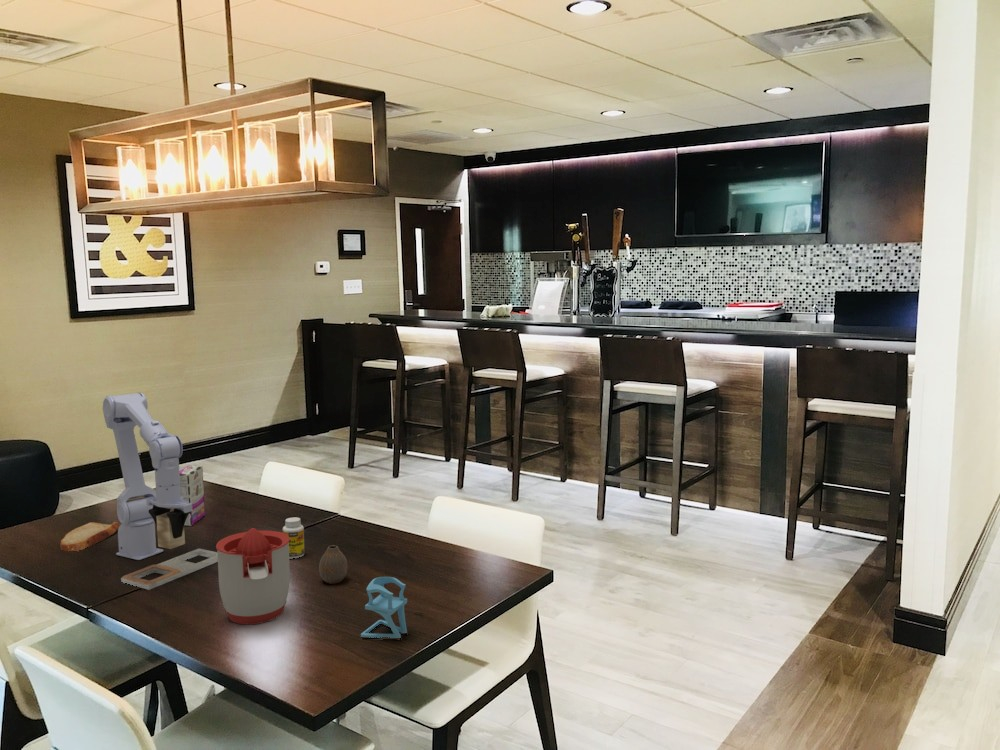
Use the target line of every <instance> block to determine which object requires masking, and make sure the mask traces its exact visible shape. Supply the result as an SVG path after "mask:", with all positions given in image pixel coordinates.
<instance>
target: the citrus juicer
mask: <svg viewBox="0 0 1000 750" xmlns="http://www.w3.org/2000/svg"><path fill="white" fill-rule="evenodd" d="M289 541H290V538H289V536H288V535H286V534H285V533H283V532H281V531H278V530H277V531H276V530H258V529H256V528H255V527H252V528H250V529H249V530H248V531H243V532H238V533H234V534H230V535H228V536H226V537H224V538H221V539H220V540H219V541H217V543H216V545H215V549H216V550H217V551H216V552H217V553H218V562H217V571H218V586H219V587H218V588H219V593H220V598H221V602H222V605H223V607H224V611H225V613H226V615H227V617H228V619H229V620H230V621H231V622H233V623H237V624H238V625H242V626H243V625H256V624H261V623H266V622H269V621H270V622H271V621H273V620H275V619H277V618H278V617H280V615H282V613H283V612H284V609H285V607H286V603H287V599H288V595H289V589H290V581H291V580H290V579H291V575H290V574H291V573H290V569H291V568H290V559H289Z"/></svg>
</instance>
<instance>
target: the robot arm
mask: <svg viewBox="0 0 1000 750" xmlns="http://www.w3.org/2000/svg"><path fill="white" fill-rule="evenodd" d="M148 407H149V406H148V399H147V396H146V395H145V394H144V393H143V392H137V393H127V394H126V393H125V394H118V395H106V396H105V397H104V399H103V402H102V412H103V417H104V418H103V419H104V422H105V425H106V428H108V429H110V430H112V431H113V435H114V439H115V444H116V449H117V454H118V458H119V462H120V469H121V473H122V477H123V478H122V479H123V482H124V487H125V488H124V490H123V491H122V492H121V493H120V494H119V495H118V497H117V498H116V513H117V514H116V516H117V518H118V521H119V523H120V527H119V529H118V530H117V542H118V552H116V553H115V555H116V556H120V557H122V558H123V557H124V558H127V559H133V560H136V561H141V560H144V559H147V558H149V557H152V556H155V555H157V554H160V553H162V552H164V549H162V548H158V547H157V541H156V527H157V517H156V516H158V515H161V514H164V513H167V516H168V518H169V520H170V523H171V527H172V534H173V538H175V539H176V538H179V537H182V533H183V528H184V529H185V526H184V524H185V521H186V519H187V517H188V515H189V513H190V512H191V511H192V503H188V502H186V501H184V498H183V497H181V492H180V473H179V471H180V461H179V460H180V458H182V455H183V453H184V452H183V451H184V449H183V448H184V447H183V442H182V440H181V438H180V437H179V435H177V434H176V435H175V434H170V433H169V432H168V430H167V429H166V428H165V427H164V425H163V424H162V423H161V422H160V421H158V420H155V419H153V418H152V416H151V414H150V413H149V411H148ZM136 426H137V427H138V428H139V436H140V437H141V438H142V440H143V441H144V443H145V444H146V445H147V447H149V449H148V450H149V451H148V452H149V455H150V458H151V465H152V468H154V478H155V479H154V481H155V489H154V488H152V487H151V486H148V485H147V484H146V483H145V478H144V474H143V469H142V464H141V460H140V455H139V454H140V453H139V450H138V445H137V440H136V436H135V432H134V431H135V427H136ZM171 510H172V512H171Z"/></svg>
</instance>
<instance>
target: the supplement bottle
mask: <svg viewBox="0 0 1000 750" xmlns="http://www.w3.org/2000/svg"><path fill="white" fill-rule="evenodd" d="M284 522H285V523H284V524H285V525H284V526H283V527H282V533H285V534H286V535H288V536H289V538H290V541H289V560H290V559H291V560H294V559H293V558H295V559H299V557H300V558H302V557H303V556H304V555H305V527H304V525H303V524H302V522H301V518H300V517H294V516H293V517H288V518H286V519H285V521H284Z"/></svg>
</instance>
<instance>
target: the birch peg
mask: <svg viewBox="0 0 1000 750" xmlns="http://www.w3.org/2000/svg"><path fill="white" fill-rule="evenodd" d="M172 511H173V510H172ZM172 511H171V510H170V512H172ZM156 517H157V526H156V531H157V546H158V547H159V548H163V549H164V548H165V549H169V550H172V549H175V548H178V547H180V546H183V545H185V544H186V539H185V538H186V537H185V527H184V528H183V533H182V537H179V538H176V539H175V538H173V534H172V527H171V523H170V520H169V518H168V516H167V513H164V514H161V515H158V516H156ZM158 547H157V548H158Z"/></svg>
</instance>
